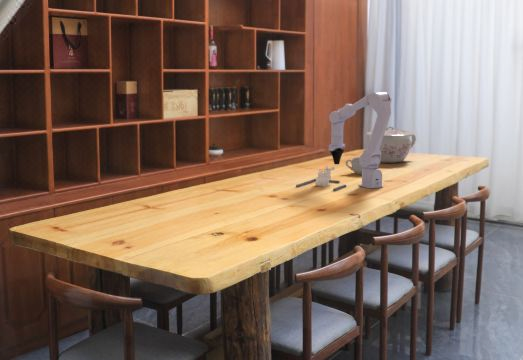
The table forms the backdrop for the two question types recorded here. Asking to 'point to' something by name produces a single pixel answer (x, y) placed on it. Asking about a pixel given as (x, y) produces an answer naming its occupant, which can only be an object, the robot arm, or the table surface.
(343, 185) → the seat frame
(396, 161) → the chamber pot
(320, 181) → the white figurine
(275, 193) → the table surface
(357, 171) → the teacup
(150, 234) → the table surface
